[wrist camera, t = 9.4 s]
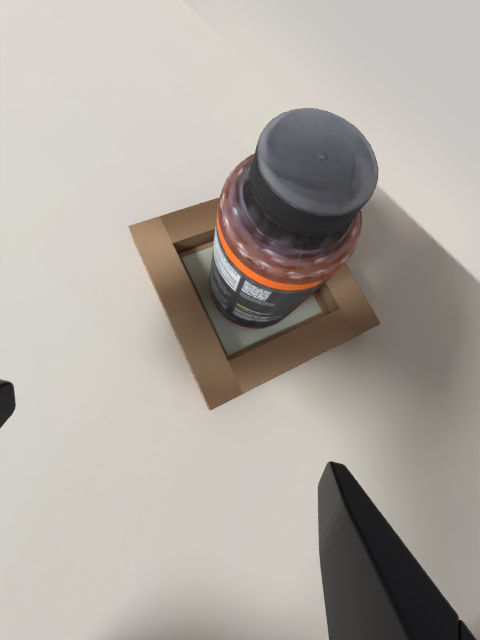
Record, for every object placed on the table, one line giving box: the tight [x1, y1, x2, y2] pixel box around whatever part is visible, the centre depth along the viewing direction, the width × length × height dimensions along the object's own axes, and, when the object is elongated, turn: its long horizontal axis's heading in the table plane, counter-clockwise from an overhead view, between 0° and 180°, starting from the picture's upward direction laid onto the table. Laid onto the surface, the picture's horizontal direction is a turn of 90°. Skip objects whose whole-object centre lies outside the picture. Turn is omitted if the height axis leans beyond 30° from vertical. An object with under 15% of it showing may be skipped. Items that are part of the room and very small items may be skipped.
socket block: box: [129, 198, 380, 410], centre depth 19 cm, size 12×12×2 cm
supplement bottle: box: [209, 108, 378, 329], centre depth 14 cm, size 6×6×11 cm
